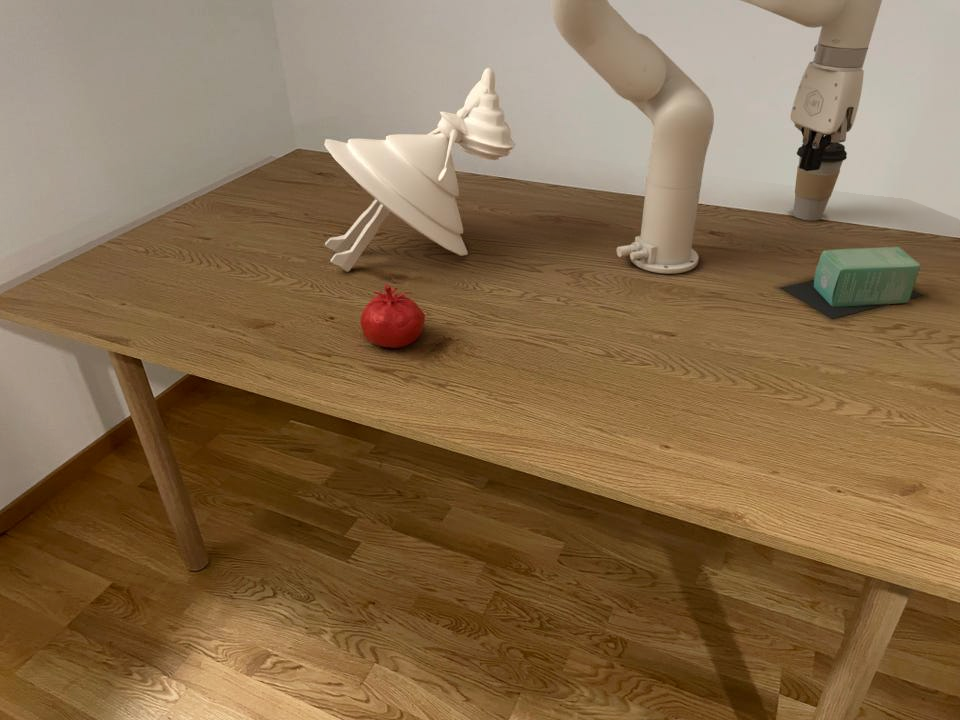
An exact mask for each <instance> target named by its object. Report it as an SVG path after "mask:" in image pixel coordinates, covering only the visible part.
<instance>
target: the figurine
mask: <svg viewBox="0 0 960 720" xmlns="http://www.w3.org/2000/svg"><path fill="white" fill-rule="evenodd" d="M439 114H440V116H441V119H440V120H439V121H438V123H437V128H435V129H434V130H432V131H431V132H429V133H427V134H426V133H425V134H424V133H423V134H420V133H419V134H418V133H417V134H415V133H400V134H399V133H398V134H397V133H396V134H388V135H386V136H385V139H372V138H349V139H348V140H347V142H345V141H340V140H336V139H332V138H331V139H329V138H325V141H324V147H325V148H326V150H327V151H328V152H329V154H330V155H331V156H332V158H333V159H334V160H335V161H336V162H337V164H339V165H340V166H341V168H342V169H344V171H345V172H346V173H347V174H348V175H349V176H350V177H351V178H352V179H353V180H355V182H356V183H357V184H358V185H359V186H360V187H361V188H362V189H363V190H364V191H365V192H366V193H367V194H369V195H370V196H371V197H372V198H374V200H373V201H372V202H371V204H370V205H369V206H368V208H367V209H366V210H364V211H363V212H362V213H361V214H360V216H359V217H358V218H357V219H356V221H354V223H353V224H352V225H351V227H350V228H349V229H348V230H347V231H346V233H345V234H343V235H338V236H334V237H329V238H328V239H327V240H326V241H325V243H324V246H325V247H326V248H327V249H329V250H331V251H334V255H333V256H332V258H331V259H330V262H331V263H332V264H334V265H336V266H339V267H340V269H341V270H343V271H345V272H346V273H348V272H350V271H351V269H352V268H353V267H354V265H355V263H356V262H357V260H359V258H360V256H361V255H362V253H363V252H364V251H365V250H366V248H367V247H368V245H369V244H370V243H371V241H372V240H373V239H374V237H375V236H376V234H377V233H378V231H379V229H380V227H381V225H382V224H383V223H384V221H385V220H386V219H387V218H388V216H389V215H390V214H391V213H392V214H393V215H395V217H397V218H398V219H400V220H401V221H402V222H403V223H405V224H406V225H407V226H409V227H410V228H412V229H414V230H415V231H416V232H418V233H420V234H421V235H422V236H424V237H425V238H428V240H430V241H432V242H434V243H436V244H437V245H439V246H440V247H442V248H444V249H445V250H448V251H450V252H451V253H454V254H456V255H458V256H460V257H463V256H467V255H468V254H469V253H468V250H467V247H466V244H465V242H464V241H463V238H462V235H463V234H464V226H463V222H462V218H461V215H460V211H459V208H458V207H459V206H458V202H457V198H456V197H458V198H459V196H460V189H459V184H458V179H457V174H456V169H455V163H454V160H453V159H454V158H453V155H452V154H453V153H452V152H453V149H454V146H455V144H458V145H459V146H458V148H459V149H460V150H462V151H463V152H465V153H468V154H469V155H472V156H475V157H477V158H480V159H485V160H489V161H490V160H491V161H497V160H499V159H500V158H503V157H508V156H510V153H511V150H513V149H514V148H515V146H516V143H515V141H514V140H513V139H512V134H511V133H512V132H511V128H510V126H509V124H508V123H507V121H505V113H504V109H502V108H501V107H500V96H499V94H498V93H497V92H496V74H495V71H494V69H493V68H491V67H487V68H485V69H484V70H483V72H482V75H481V78H480V80H479V81H478V82H477V83H475V85H474V86H473V88H472V89H471V90H470V92H469V93H468V94H467V97H466V99H465V101H464V105H463V107H461V108H459V109H458V110H457V111H456V113H452V112H448V111H439ZM350 246H351V247H350ZM349 248H350V249H349Z"/></svg>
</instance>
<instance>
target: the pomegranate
mask: <svg viewBox="0 0 960 720" xmlns="http://www.w3.org/2000/svg"><path fill="white" fill-rule="evenodd" d="M398 290H399V288H398V287H393V288H392V287H391V286H390V285H389V284H386V285H384V291H385V293H383V292H382V291H374V290H373V291H372V293H373V294H375V296H374V297H373V298H372V299H371V300H370V301H369V302H368V303H367V304H366V306H365V307H364V309H363V310H362V313H361V315H360V327H361V331H362V334H363V336H364V337H365V339H367V340H368V341H369V342H370V343H372V344H374V345H376V346H378V347H382V348H383V347H384V348H392V349H399V348H403V347H406V346H407V345H410V344H412V343H414V342H415V341H416V340H417V339H418V338H419V337H420V336H421V334H422V332H423V329H424V326H425V322H426V320H425V319H426V313H425V312H424V310H422V309H421V308H420V306H419V305H418V304H417V303H416V301H414V300H412V299H410V298H409V297H406V296H405V295H407V294H412V292H410V291H406V292H402V293H397V294H396V293H395V292H396V291H398Z"/></svg>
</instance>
